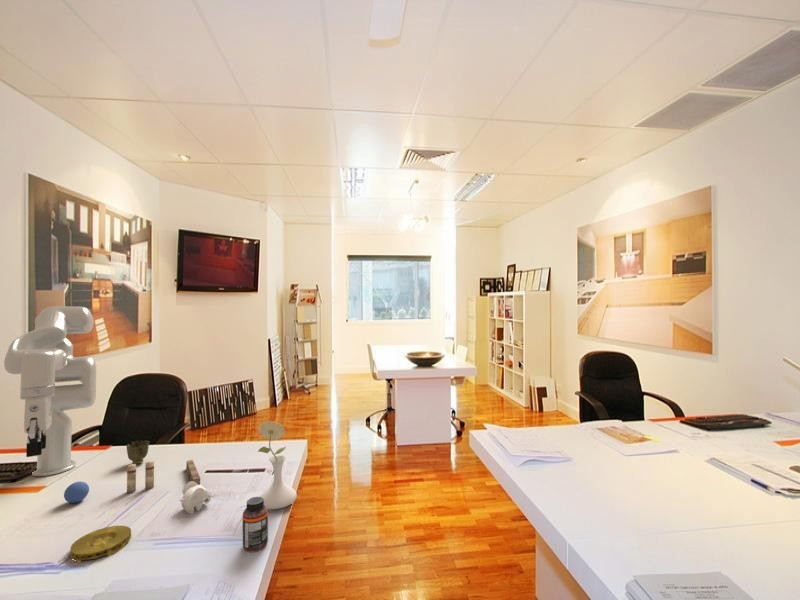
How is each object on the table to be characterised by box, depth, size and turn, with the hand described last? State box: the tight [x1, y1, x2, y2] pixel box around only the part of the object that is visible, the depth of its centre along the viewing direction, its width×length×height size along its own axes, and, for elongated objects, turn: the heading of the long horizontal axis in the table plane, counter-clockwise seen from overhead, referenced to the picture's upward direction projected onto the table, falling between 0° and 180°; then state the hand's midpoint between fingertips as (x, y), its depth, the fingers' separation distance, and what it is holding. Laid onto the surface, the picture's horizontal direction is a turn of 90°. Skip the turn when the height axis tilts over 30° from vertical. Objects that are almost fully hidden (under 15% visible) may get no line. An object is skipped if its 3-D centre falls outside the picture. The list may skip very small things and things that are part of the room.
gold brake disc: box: [69, 525, 132, 562], centre depth 95 cm, size 12×12×2 cm
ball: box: [63, 481, 90, 504], centre depth 118 cm, size 6×6×6 cm
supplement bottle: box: [242, 496, 269, 553], centre depth 94 cm, size 6×6×11 cm
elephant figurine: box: [178, 480, 215, 514], centre depth 113 cm, size 8×10×7 cm
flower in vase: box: [257, 420, 298, 510], centre depth 116 cm, size 13×11×25 cm
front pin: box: [126, 463, 137, 494], centre depth 124 cm, size 2×2×8 cm
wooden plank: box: [185, 459, 201, 485], centre depth 135 cm, size 20×2×3 cm, turn 36°
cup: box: [125, 439, 150, 466], centre depth 148 cm, size 8×7×8 cm
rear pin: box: [144, 460, 155, 491], centre depth 127 cm, size 2×2×8 cm
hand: (36, 451), depth 113 cm, fingers open, 5 cm apart
